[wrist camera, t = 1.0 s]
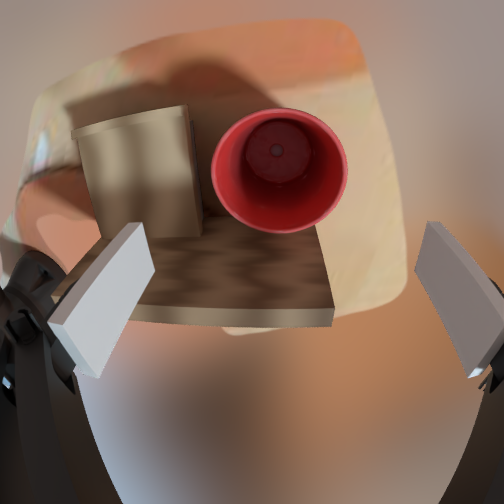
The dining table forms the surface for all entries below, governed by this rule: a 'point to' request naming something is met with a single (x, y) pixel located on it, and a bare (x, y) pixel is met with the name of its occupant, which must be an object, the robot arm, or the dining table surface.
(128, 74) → the dining table surface
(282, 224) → the flower pot
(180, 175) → the small wooden stand
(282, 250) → the wooden board
